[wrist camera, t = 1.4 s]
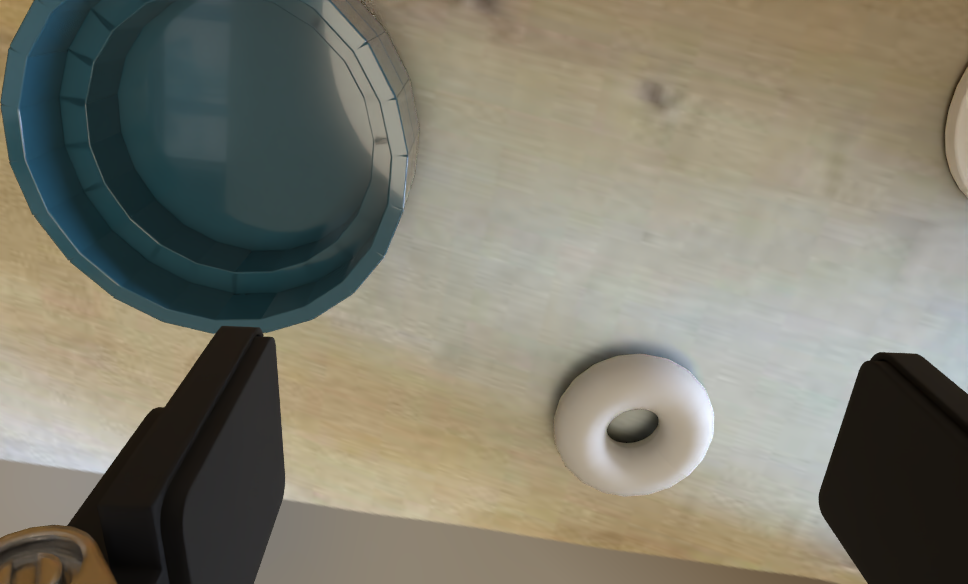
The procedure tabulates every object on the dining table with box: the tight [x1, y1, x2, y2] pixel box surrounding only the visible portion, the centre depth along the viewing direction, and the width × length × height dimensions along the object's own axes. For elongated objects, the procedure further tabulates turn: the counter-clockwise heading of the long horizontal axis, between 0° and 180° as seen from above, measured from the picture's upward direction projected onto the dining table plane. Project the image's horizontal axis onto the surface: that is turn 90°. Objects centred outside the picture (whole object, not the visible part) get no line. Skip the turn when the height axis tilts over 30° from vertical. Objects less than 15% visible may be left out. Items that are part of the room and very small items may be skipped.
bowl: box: [0, 0, 419, 334], centre depth 34 cm, size 18×18×7 cm
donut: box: [553, 354, 714, 496], centre depth 43 cm, size 10×3×10 cm
